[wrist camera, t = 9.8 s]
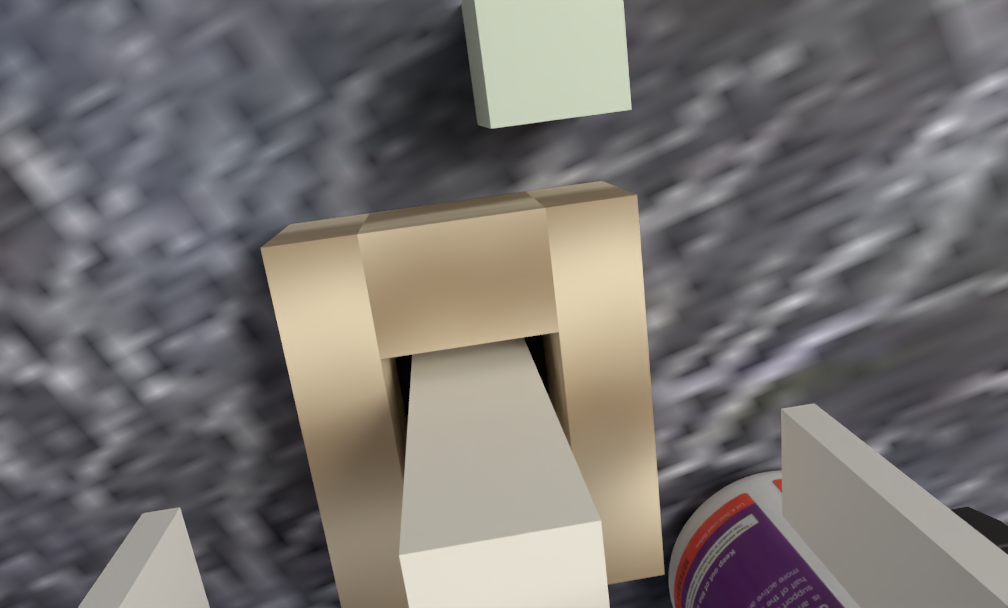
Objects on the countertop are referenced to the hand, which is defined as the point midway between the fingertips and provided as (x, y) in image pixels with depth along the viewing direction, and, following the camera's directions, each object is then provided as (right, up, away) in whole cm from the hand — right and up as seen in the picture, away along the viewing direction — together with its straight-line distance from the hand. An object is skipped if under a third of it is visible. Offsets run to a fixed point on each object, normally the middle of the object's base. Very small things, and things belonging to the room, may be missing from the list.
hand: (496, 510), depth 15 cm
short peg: (+1, +12, +6) cm, 14 cm away
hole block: (-1, +2, +9) cm, 9 cm away
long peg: (-1, +2, +9) cm, 9 cm away
